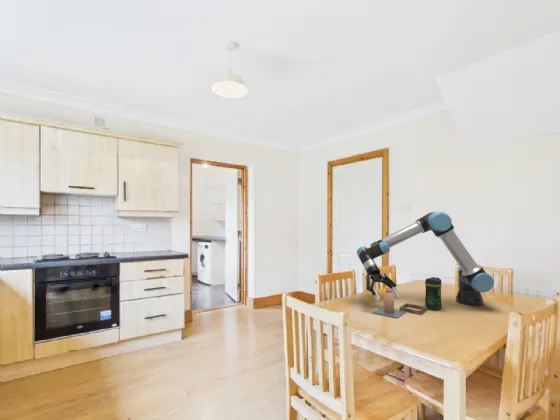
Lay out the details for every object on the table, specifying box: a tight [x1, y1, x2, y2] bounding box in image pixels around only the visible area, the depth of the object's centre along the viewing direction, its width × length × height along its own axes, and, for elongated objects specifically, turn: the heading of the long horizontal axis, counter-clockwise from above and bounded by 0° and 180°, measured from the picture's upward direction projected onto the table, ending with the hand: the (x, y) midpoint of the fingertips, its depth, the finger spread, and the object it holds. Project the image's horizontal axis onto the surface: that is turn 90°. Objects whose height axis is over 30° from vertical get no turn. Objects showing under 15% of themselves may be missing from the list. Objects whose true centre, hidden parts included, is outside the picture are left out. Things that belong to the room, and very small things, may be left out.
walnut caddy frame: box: [398, 302, 428, 316], centre depth 178 cm, size 12×12×2 cm
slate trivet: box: [372, 306, 407, 319], centre depth 173 cm, size 14×14×1 cm
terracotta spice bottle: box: [383, 287, 395, 313], centre depth 173 cm, size 5×5×13 cm
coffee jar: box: [424, 276, 443, 311], centre depth 182 cm, size 10×8×19 cm
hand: (388, 299), depth 174 cm, fingers open, 13 cm apart
